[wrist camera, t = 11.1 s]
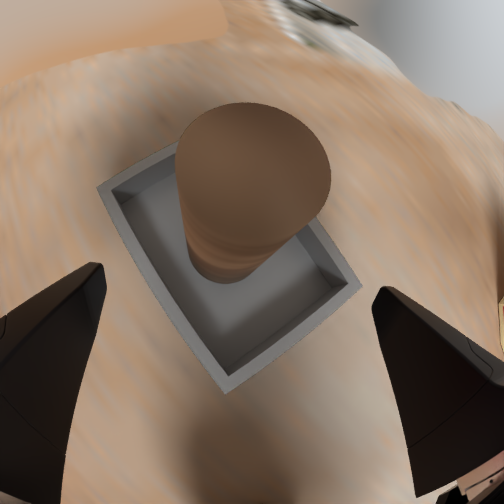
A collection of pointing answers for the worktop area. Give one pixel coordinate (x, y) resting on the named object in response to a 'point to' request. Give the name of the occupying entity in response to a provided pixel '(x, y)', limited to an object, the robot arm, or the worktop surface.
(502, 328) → the milk carton
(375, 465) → the worktop surface
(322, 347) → the worktop surface
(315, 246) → the box
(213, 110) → the walnut cylinder
